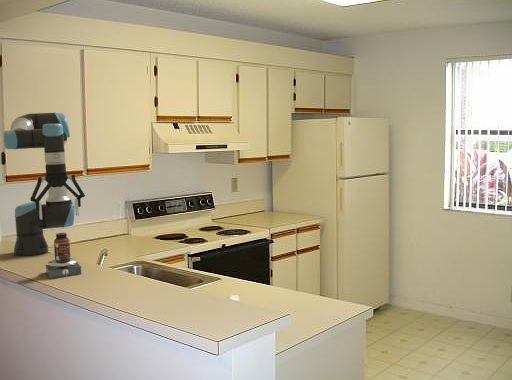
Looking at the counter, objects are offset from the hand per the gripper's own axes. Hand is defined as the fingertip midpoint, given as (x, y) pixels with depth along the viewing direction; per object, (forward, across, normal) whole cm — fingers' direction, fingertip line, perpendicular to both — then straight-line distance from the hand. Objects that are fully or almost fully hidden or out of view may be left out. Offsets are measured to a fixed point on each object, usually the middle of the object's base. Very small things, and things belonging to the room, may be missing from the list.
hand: (59, 217), depth 227 cm
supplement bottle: (+18, 0, 0) cm, 18 cm away
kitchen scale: (+23, 0, 0) cm, 23 cm away
